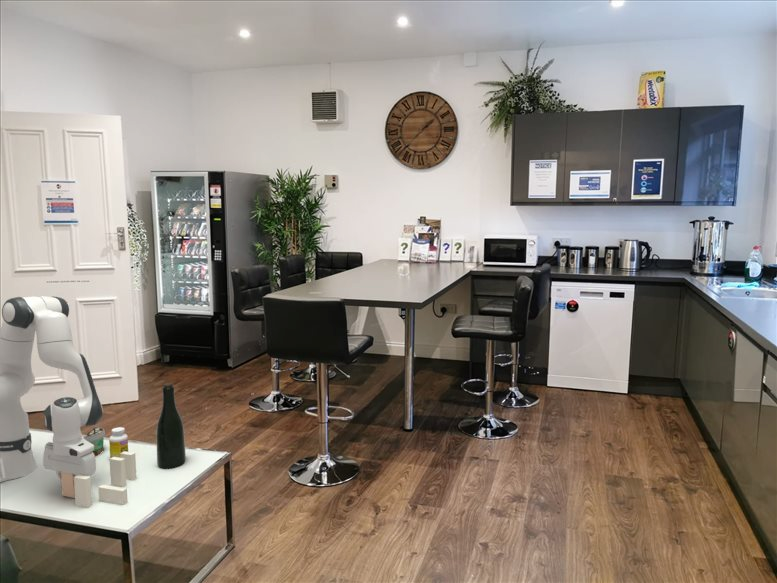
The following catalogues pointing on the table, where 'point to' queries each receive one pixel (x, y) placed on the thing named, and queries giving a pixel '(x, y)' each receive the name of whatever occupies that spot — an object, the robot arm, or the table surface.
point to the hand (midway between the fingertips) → (70, 483)
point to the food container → (96, 439)
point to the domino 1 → (68, 484)
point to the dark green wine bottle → (170, 433)
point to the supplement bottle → (118, 442)
